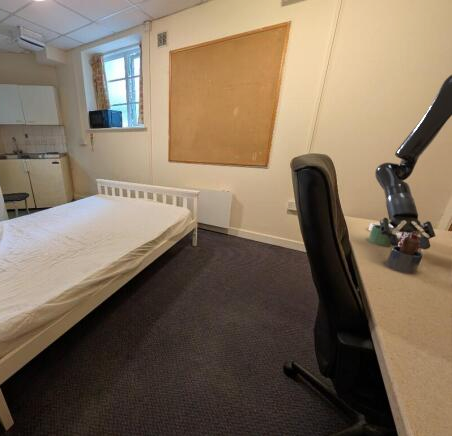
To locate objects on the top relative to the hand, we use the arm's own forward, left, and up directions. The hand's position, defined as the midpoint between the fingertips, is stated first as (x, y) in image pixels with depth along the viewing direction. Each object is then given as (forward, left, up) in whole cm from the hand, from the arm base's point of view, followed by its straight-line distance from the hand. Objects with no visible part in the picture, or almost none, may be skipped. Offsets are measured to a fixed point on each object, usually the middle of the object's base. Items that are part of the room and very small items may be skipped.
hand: (410, 247), depth 78 cm
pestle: (0, 0, -8) cm, 8 cm away
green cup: (+12, -21, -9) cm, 26 cm away
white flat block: (+12, -37, -9) cm, 39 cm away
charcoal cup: (0, 0, -9) cm, 9 cm away
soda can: (+3, -18, -9) cm, 21 cm away
